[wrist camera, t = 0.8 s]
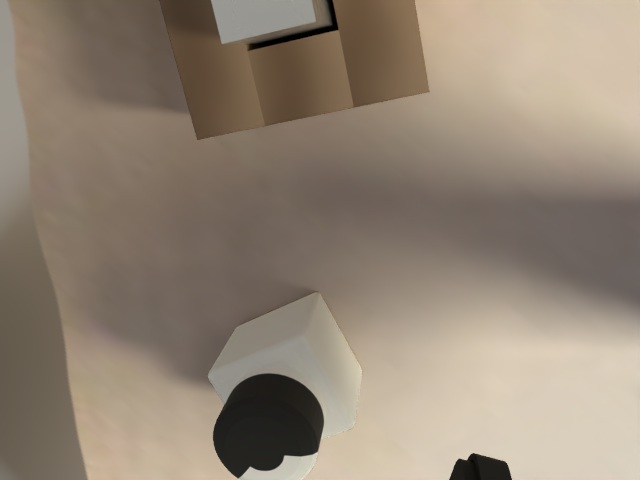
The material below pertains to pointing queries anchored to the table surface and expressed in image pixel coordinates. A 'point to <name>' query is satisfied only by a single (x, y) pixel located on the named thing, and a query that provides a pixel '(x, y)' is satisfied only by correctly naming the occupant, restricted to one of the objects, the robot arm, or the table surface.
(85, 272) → the table surface
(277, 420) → the medicine bottle
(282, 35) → the pin
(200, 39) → the walnut block
